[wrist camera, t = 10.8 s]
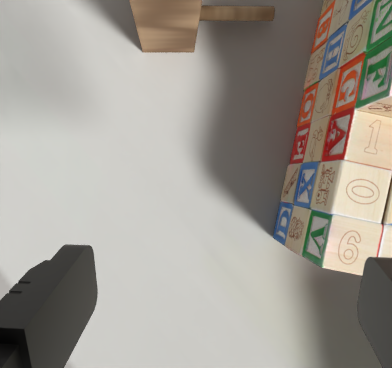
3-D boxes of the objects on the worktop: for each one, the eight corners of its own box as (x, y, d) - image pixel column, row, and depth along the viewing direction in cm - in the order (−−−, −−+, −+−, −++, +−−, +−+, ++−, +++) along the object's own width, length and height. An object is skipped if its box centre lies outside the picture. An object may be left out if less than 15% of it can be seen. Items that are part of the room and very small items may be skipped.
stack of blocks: (343, 253, 29) (469, 311, 16) (270, 238, 28) (344, 286, 16) (398, -3, 28) (568, -137, 16) (325, -21, 28) (443, -173, 16)
